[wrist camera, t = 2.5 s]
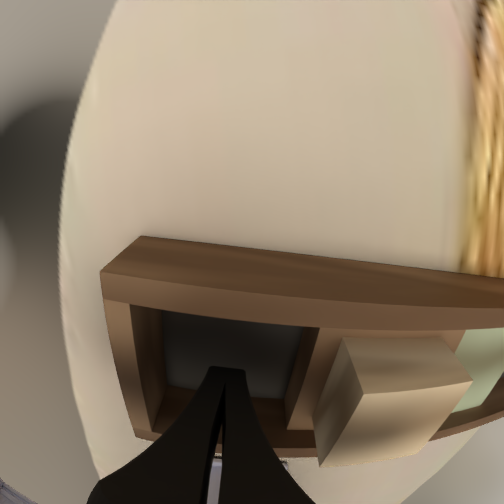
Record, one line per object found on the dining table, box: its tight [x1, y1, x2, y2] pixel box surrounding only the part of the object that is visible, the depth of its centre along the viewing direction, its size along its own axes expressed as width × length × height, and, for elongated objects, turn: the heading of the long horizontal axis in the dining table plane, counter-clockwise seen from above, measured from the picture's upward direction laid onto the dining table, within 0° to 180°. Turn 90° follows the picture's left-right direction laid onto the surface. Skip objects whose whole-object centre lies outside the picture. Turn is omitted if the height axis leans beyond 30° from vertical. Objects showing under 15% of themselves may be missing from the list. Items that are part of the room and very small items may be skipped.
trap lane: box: [100, 236, 504, 457], centre depth 12 cm, size 9×29×4 cm, turn 83°
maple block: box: [312, 337, 473, 468], centre depth 10 cm, size 5×5×3 cm
